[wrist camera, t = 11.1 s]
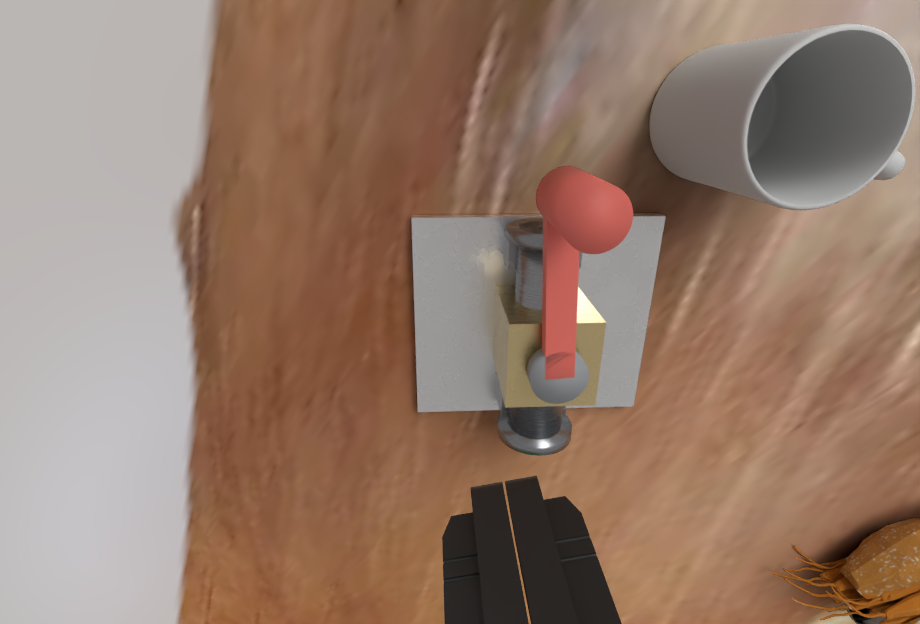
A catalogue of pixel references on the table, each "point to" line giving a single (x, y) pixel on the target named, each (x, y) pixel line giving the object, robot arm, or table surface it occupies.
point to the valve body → (523, 320)
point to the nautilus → (874, 577)
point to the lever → (571, 270)
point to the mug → (788, 115)
